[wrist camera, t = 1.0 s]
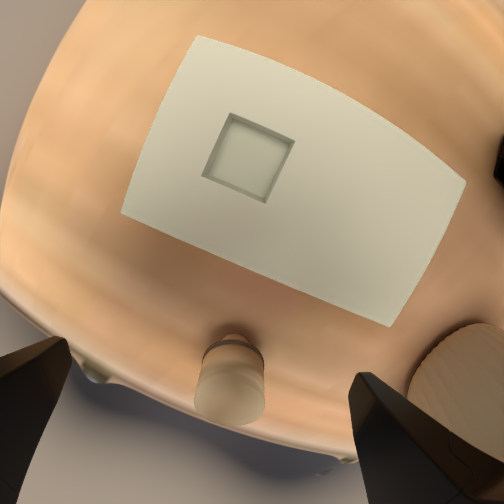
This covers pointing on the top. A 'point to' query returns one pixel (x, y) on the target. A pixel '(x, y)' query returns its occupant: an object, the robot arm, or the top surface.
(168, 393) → the top surface
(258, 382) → the peg
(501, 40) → the top surface
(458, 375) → the canister
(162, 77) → the top surface
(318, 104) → the board
